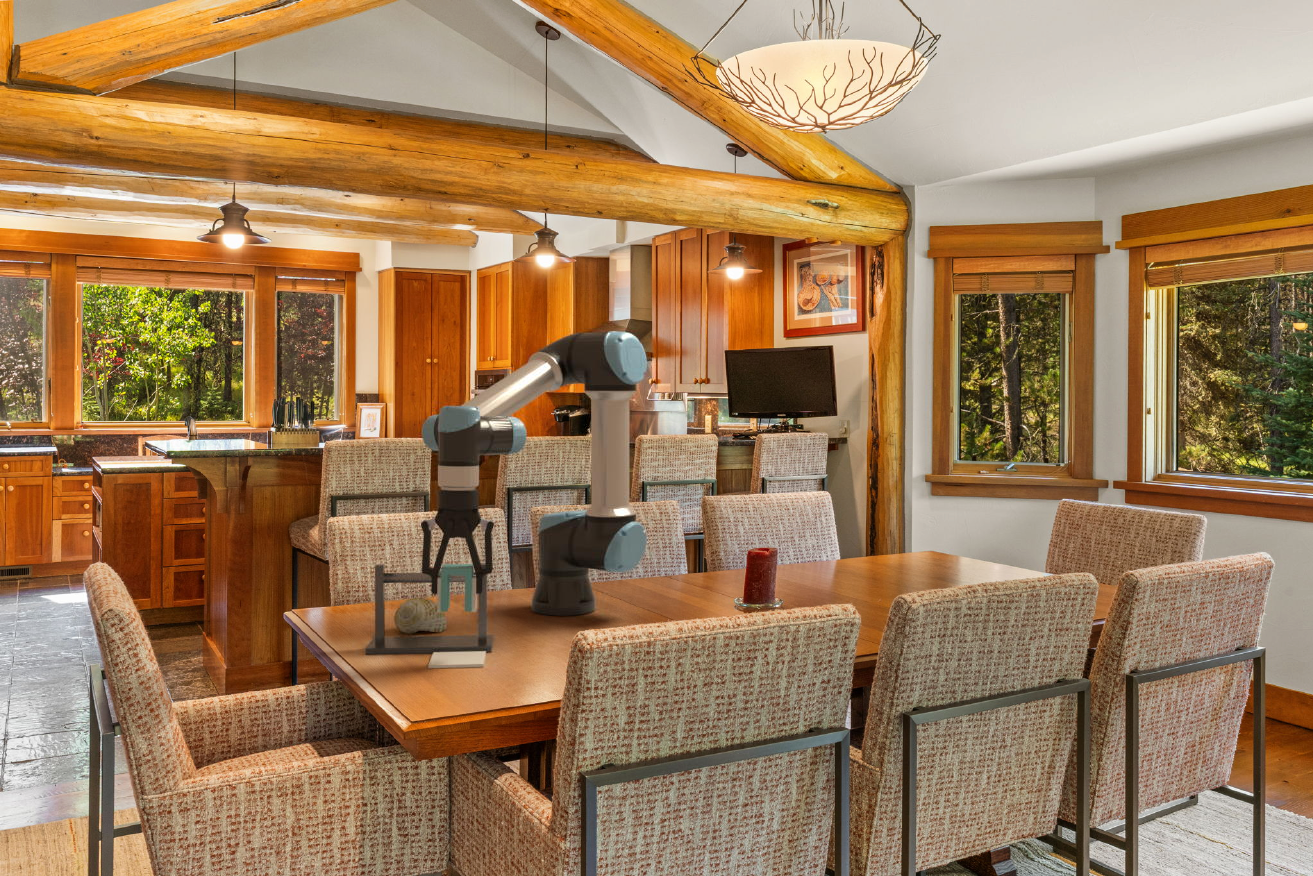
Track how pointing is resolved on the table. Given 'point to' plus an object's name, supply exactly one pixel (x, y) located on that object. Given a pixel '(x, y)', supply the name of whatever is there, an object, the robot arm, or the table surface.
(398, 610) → the seashell
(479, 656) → the mat
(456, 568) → the c link
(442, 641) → the stand
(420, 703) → the table surface
